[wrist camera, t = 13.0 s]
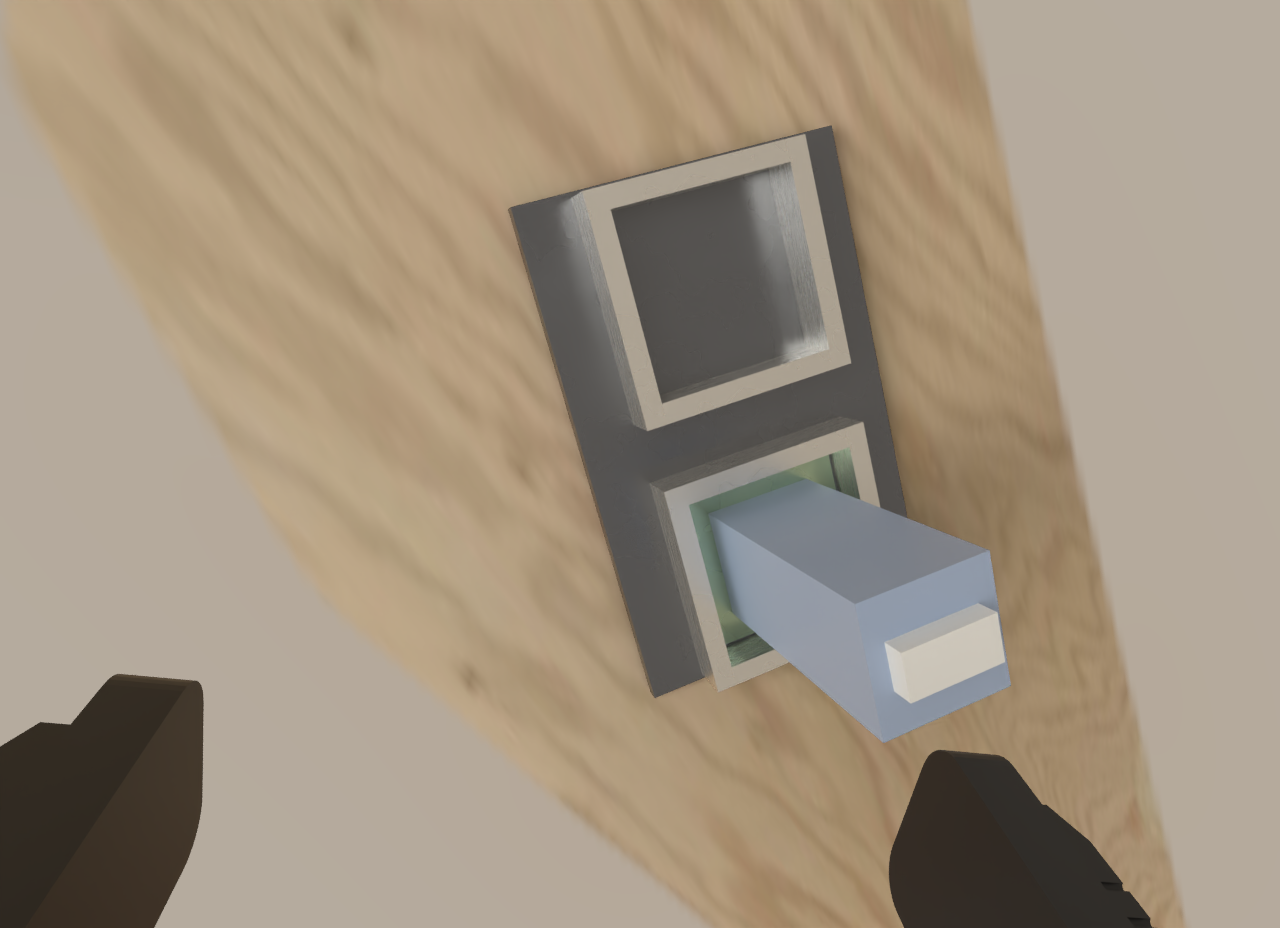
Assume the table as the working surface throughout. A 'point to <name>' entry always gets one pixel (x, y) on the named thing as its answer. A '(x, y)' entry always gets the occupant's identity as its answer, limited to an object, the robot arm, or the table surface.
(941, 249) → the table surface
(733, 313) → the panel
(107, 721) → the robot arm
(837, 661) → the plug
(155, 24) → the table surface
